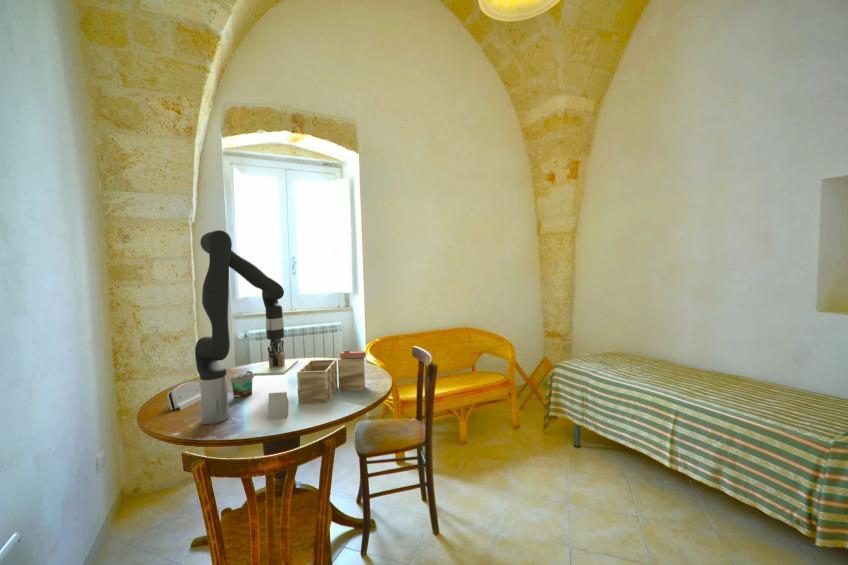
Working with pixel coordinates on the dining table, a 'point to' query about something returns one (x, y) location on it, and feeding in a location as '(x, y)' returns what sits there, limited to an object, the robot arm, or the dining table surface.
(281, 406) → the tea box
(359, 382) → the wooden box
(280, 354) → the lid
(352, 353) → the key bar
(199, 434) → the dining table surface
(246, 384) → the food container
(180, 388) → the hinge
